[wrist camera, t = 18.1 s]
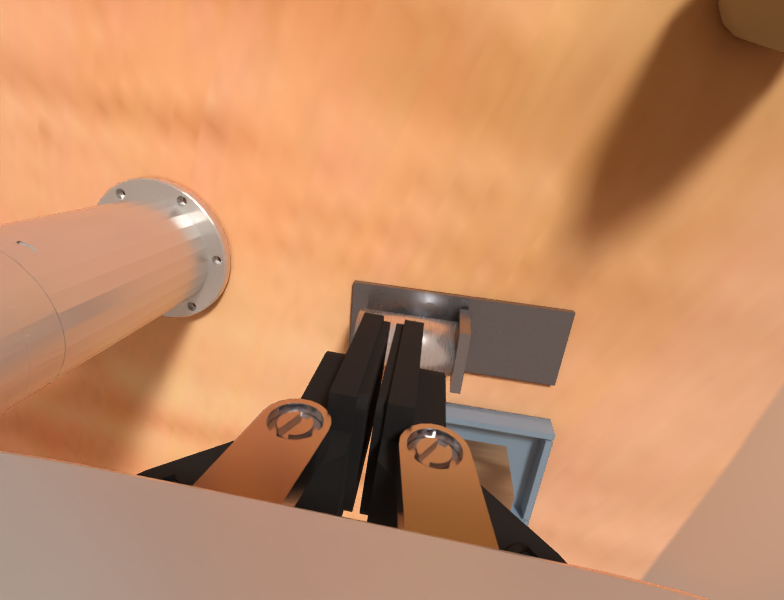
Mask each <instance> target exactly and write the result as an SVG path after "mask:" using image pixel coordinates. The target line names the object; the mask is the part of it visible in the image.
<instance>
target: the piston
mask: <svg viewBox="0 0 784 600" xmlns="http://www.w3.org/2000/svg"><path fill="white" fill-rule="evenodd" d="M365 312H367V313H372V314H378V315H383V316H384V321H388V322H391V324H390V331H389V337H388V343H387V350H386V356H385V362H384V366H386V364H387V360H388V356H389V352H390V348H391V344H392V340H393V336H394V332H395V328H396V324H397V323H399V324H404V323H405V319H406V320H411V321H417V322H422V323H424V330H423V340H422V350H421V360H420V368H422V369H427V370H433V371H438V372H443V373H445V376H450V392H452V393H458V394H460V391H461V386H462V381H463V375H464V370H465V364H466V359H467V354H468V348H469V343H470V337H471V327H470V313H469V310H464V309H460V310H459V316H458V322H454V321H447V320H440V319H433V318H426V317H420V316H413V315H406V314H399V313H392V312H385V311H378V310H371V309H364V308H361V309H360V311H359V313H358V316H357V320H356V324H355V328H354V334H353V338H354V335H355V333H356V331H357V329H358V326H359V324H360V322H361V320H362V317H363V315H364V313H365Z"/></svg>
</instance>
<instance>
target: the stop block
mask: <svg viewBox="0 0 784 600" xmlns="http://www.w3.org/2000/svg"><path fill="white" fill-rule="evenodd" d="M463 440H464V441H465V442H466V443H467V445H468V447H469V449H470V451H471V454H472V458H473V461H474V465H475V468H476V472H477V475H478V478H479V482H480V484H481V485H482V486H483V487H484V488H485V489H486V490H487V491H489V492H490V493H491V494H492V495H493V496H494V497H495V498H496V499H497V500H499V501H500V502H501V503H502V504H503V505H504V506H505V507H506V508H508V509H509V510H510V511H511V508H512V504H513V500H514V491H513V485H512V478H511V472H510V466H509V460H508V453H507V447H506V446H502V445H496V444H490V443H484V442H478V441H472V440H466V439H463Z"/></svg>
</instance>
